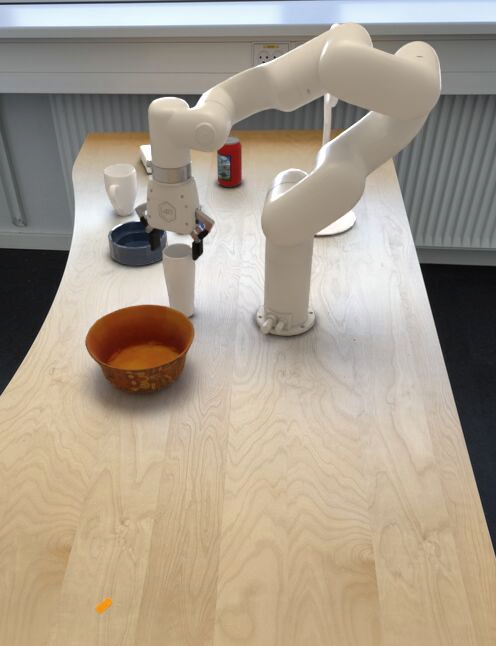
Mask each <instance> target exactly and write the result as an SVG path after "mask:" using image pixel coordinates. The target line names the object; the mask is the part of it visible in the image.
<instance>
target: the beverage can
mask: <svg viewBox="0 0 496 646" xmlns="http://www.w3.org/2000/svg"><path fill="white" fill-rule="evenodd" d="M242 147H243V146H242V143H241V141H240V139H239V137H238V136H235V135H229V136H228V138H227V140H226V142H225V144H224V145H223V147H221V148H220V149H219V150H217V151H216V165H217V182H218V183H219V184H220V185H221V186H223V187H227V188H233V187H237V186H238V185H239V184H240V183H241V182H242V181H243V179H242V178H243V176H242V173H243V168H242V167H243V164H242V163H243V161H242V160H243V157H242V156H243V155H242V154H243V153H242Z"/></svg>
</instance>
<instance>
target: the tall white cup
mask: <svg viewBox="0 0 496 646" xmlns="http://www.w3.org/2000/svg"><path fill="white" fill-rule="evenodd" d="M162 254H163V258H162V268H163V275H164V279H165V286H166V291H167V297H168V303H169V308H172V309H174V310H177V311H179V312H181V313H183V314H184V315H185V316H187V317H188V318H190V317H191V316H193V315H194V313H195V290H196V289H195V288H196V287H195V286H196V261H194V260H193V259H192V245H191V244H188V243H183V242H176V243H171V244H168V246H167V247H165V248H164V249H163V252H162Z"/></svg>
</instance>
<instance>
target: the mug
mask: <svg viewBox="0 0 496 646" xmlns="http://www.w3.org/2000/svg"><path fill="white" fill-rule="evenodd" d="M103 179H104V186H105V193H106V195H107V198H108V200H109V202H110V204H111V206H112V207H113V209H114V211H115V213H116V214H117V215H118V216H123V217H125V216H129V215H131V214H132V213H133V211H134V207H135V203H136V199H137V196H138V195H137V194H138V179H137V171H136V168H135V166H133V164H129V163H114V164H111V165H109V166H107V167H106V168H105V169H104V170H103Z"/></svg>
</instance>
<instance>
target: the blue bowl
mask: <svg viewBox="0 0 496 646" xmlns="http://www.w3.org/2000/svg"><path fill="white" fill-rule="evenodd" d="M145 229H146V228H145V227H144V225H143V224H142V223H141V222H140V219H139V220H138V219H137V220H129V221H125V222H123V223H119V224H118V225H116V226H114V227H112V228H111V229H110V231H109V233H108V234H107V239H108V247H109V253H110V257H111V258H112V259H113V260H114V261H115V262H116V263H117V262H118V263H119V264H121V265H122V264H123V265H127V266H145V265H148V264H152V263H155V262H158V261H160V260H161V259H163V254H162V252H163V249H164V248H165V247H167V246H168V245H169V244H168V231H165V230H161V229H160V243H161V244H160V246H159V247H158V248H157V249H156V250H155V251H151V248H150V244H149V235H148V232H146V230H145Z"/></svg>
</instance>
